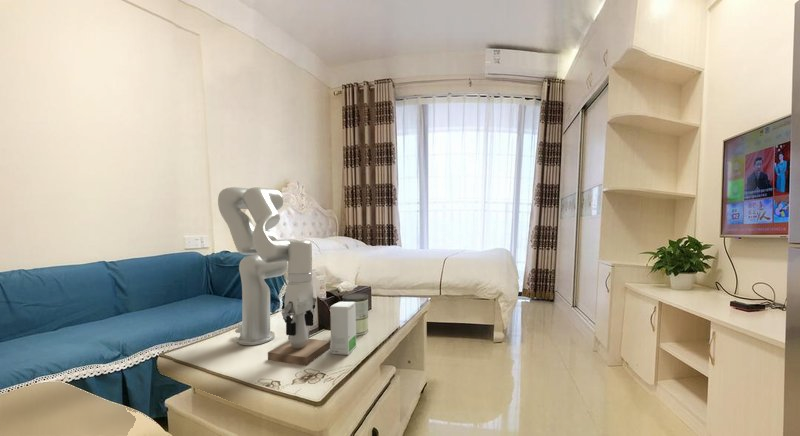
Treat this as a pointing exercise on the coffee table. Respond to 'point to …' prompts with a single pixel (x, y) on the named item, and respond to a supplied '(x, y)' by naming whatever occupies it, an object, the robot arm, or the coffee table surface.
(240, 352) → the coffee table surface
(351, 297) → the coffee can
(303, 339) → the salt shaker
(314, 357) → the walnut slab
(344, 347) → the skincare box
